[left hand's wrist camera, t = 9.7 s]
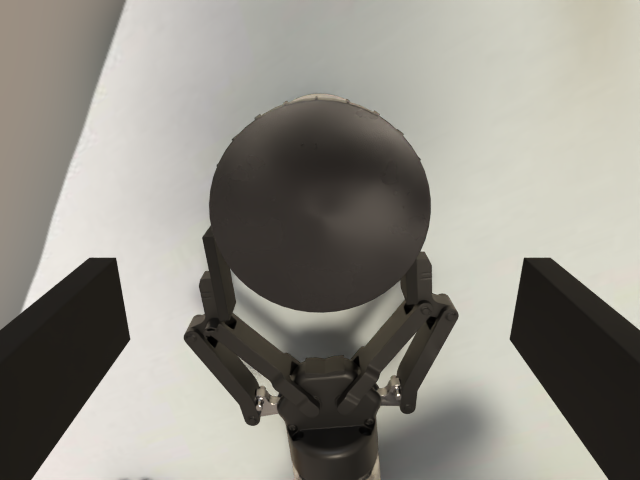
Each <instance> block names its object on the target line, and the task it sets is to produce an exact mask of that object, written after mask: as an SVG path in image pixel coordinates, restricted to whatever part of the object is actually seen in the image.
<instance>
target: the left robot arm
mask: <svg viewBox="0 0 640 480" xmlns="http://www.w3.org/2000/svg"><path fill="white" fill-rule="evenodd" d="M129 341H130V335H129V329H128V324H127V318H126V312H125V306H124V301H123V295H122V289H121V283H120V278H119V272H118V266H117V261H116V258H89V259H87V260H86V261H85V262H84V263H83V264H81V265H80V266H79V267H78V268H76V269H75V270H74V271H73V272H71V273H70V274H69V275H68V276H67V277H65V278H64V279H63V280H62V281H60V282H59V283H58V284H57V285H55V286H54V287H53V288H52V289H51V290H49V291H48V292H47V293H46V294H44V295H43V296H42V297H41V298H39V299H38V300H37V301H36V302H34V303H33V304H32V305H31V306H30V307H28V308H27V309H26V310H25V311H23V312H22V313H21V314H20V315H18V316H17V317H16V318H15V319H14V320H12V321H11V322H10V323H9V324H7V325H6V326H5V327H4V328H3V329H1V330H0V480H31V479H32V478H33V477H34V475H35V474H36V472H37V471H38V469H39V468H40V467H41V465H42V464H43V462H44V461H45V460H46V458H47V457H48V455H49V454H50V452H51V451H52V450H53V448H54V447H55V445H56V444H57V443H58V441H59V440H60V438H61V437H62V435H63V434H64V433H65V431H66V430H67V428H68V427H69V426H70V424H71V423H72V421H73V420H74V418H75V417H76V416H77V414H78V413H79V411H80V410H81V409H82V407H83V406H84V404H85V403H86V401H87V400H88V399H89V397H90V396H91V394H92V393H93V392H94V390H95V389H96V387H97V386H98V384H99V383H100V382H101V380H102V379H103V377H104V376H105V375H106V373H107V372H108V370H109V369H110V367H111V366H112V365H113V363H114V362H115V360H116V359H117V358H118V356H119V355H120V353H121V352H122V350H123V349H124V348H125V346H126V345H127V343H128V342H129ZM510 341H511V342H512V343H513V345H514V346H515V348H516V349H517V350H518V352H519V353H520V355H521V356H522V358H523V359H524V360H525V362H526V363H527V365H528V366H529V367H530V369H531V370H532V372H533V373H534V375H535V376H536V377H537V379H538V380H539V382H540V383H541V384H542V386H543V387H544V389H545V390H546V392H547V393H548V394H549V396H550V397H551V399H552V400H553V401H554V403H555V404H556V406H557V407H558V409H559V410H560V411H561V413H562V414H563V416H564V417H565V418H566V420H567V421H568V423H569V424H570V426H571V427H572V428H573V430H574V431H575V433H576V434H577V435H578V437H579V438H580V440H581V441H582V443H583V444H584V445H585V447H586V448H587V450H588V451H589V452H590V454H591V455H592V457H593V458H594V460H595V461H596V462H597V464H598V465H599V467H600V468H601V469H602V471H603V472H604V474H605V475H606V477H607V478H608V479H609V480H640V330H639V329H638V328H636V327H635V326H634V325H633V324H631V323H630V322H629V321H628V320H626V319H625V318H624V317H623V316H622V315H620V314H619V313H618V312H617V311H615V310H614V309H613V308H612V307H610V306H609V305H608V304H607V303H606V302H604V301H603V300H602V299H601V298H599V297H598V296H597V295H596V294H594V293H593V292H592V291H591V290H589V289H588V288H587V287H586V286H585V285H583V284H582V283H581V282H580V281H578V280H577V279H576V278H575V277H573V276H572V275H571V274H570V273H569V272H567V271H566V270H565V269H564V268H562V267H561V266H560V265H559V264H557V263H556V262H555V261H554V260H553V259H551V258H524V261H523V266H522V272H521V278H520V283H519V289H518V295H517V301H516V306H515V312H514V318H513V324H512V329H511V335H510Z"/></svg>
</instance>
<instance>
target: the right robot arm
mask: <svg viewBox="0 0 640 480" xmlns="http://www.w3.org/2000/svg"><path fill="white" fill-rule="evenodd" d="M202 238H203V243H204V248H205V253H206V258H207V263H208V268H209V271H205V272H204V274H203V276H202V278H201V279H200V284H199V288H200V293H201V297H202V302H203V307H204V311H205V314H204V315H196V316H194V317H193V319H192V321H191V323H190V325H189V327H188V329H187V331H186V333H185V335H184V340H185V342H186V343H187V344H188V345H189V347H190V348H191V349H192V350H193V351H194V352H195V354H196V355H197V356H198V357H199V358H200V359H201V361H202V362H203V363H204V364H205V365H206V366H207V368H208V369H209V370H210V371H211V372H212V373H213V375H214V376H215V377H216V378H217V379H218V380H219V382H220V383H221V384H222V385H223V386H224V387H225V389H226V390H227V391H228V392H229V393H230V394H231V395H232V397H233V398H234V399H235V400H236V401H237V402H238V404H239V405H240V408H241V411H242V414H243V416H244V419H245V422H246V423H247V424H248V425H251V426H255V425H257V424H258V423H259V422H260V417H261V416H266V415H272V414H278V413H279V415H280V416H281V417H282V418H283V419H284V421H285V423H286V428H287V434H288V440H289V446H290V453H291V459H292V463H293V472H294V478H295V480H381V478H380V464H379V455H378V436H377V422H376V414H377V411H378V409H379V408H380V406H400V410H401V411H402V412H403V413H404V414H410V413H412V412H413V411H414V410H415V407H416V398H417V391H418V389H419V387H420V385H421V383H422V382H423V380H424V378H425V376H426V374H427V373H428V371H429V369H430V367H431V366H432V364H433V362H434V360H435V358H436V357H437V355H438V353H439V351H440V349H441V348H442V346H443V344H444V342H445V341H446V339H447V337H448V335H449V333H450V332H451V330H452V328H453V326H454V325H455V323H456V321H457V319H458V312H457V310H456V309H455V307H454V305H453V303H452V302H451V300H450V298H449V297H448V295H446V294H439V295H436V294H433V293H432V265H431V263H430V261H429V259H428V257H427V255H426V254H425V252H420V253H419V255H418V256H417V258H416V260H415V261H414V263H413V265H412V266H411V267H410V269H409V270H408V271H407V272H406V274H405V275H404V276H403V277H402V278H401V289H402V292H403V295H404V297H405V300H404V301H403V303H402V304H401V305H400V306H399V307H398V308H397V310H396V311H395V312H394V313H393V314H392V316H391V317H390V318H389V319H388V320H387V321H386V323H385V324H384V325H383V326H382V327H381V328H380V330H379V331H378V332H377V333H376V334H375V335H374V337H373V338H372V339H371V340H370V341H369V343H368V344H367V345H366V346H365V347H361V348H360V349H359V350H358V351H357V352H356V354H355V355H354V356H353V357H352V358H351V360H350V359H347V358H344V355H338V356H332V357H329V358H326V359H323V358H315V357H314V358H306V361H305V362H302V363H300V362H298V361H297V360H296V359H295V358H293V357H292V356H291V355H290V354H288V353H282V352H281V351H280V350H279V349H277V348H276V347H275V346H274V345H272V344H271V343H270V342H269V341H267V340H266V339H265V338H263V337H262V336H261V335H260V334H258V333H257V332H256V331H255V330H253V329H252V328H251V327H250V326H248V325H247V324H246V323H245V322H243V321H242V320H241V319H240V318H238V317H237V316H236V315H235V314H233V313H232V312H233V310H234V307H235V304H236V299H235V293H234V288H233V283H232V277H231V272H230V268H229V266H228V264H227V263H226V261H225V260H224V258H223V257H222V255H221V253H220V251H219V249H218V246H217V244H216V241H215V238H214V235H213V232H212V227H211V226H210V227H209V229H208V230H207V232H206V233H205V235H204V236H203V237H202ZM416 332H417V333H416ZM415 333H416V335H415V336H414V338H413V340H412V342H411V344H410V346H409V348H408V350H407V352H406V353H405V355H404V357H403V359H402V361H401V363H400V365H399V368H398V371H397V376H395V375H393V376H391V380H390V381H389V382H388V385H387V386H386V387H384V388H379V387H378V385H377V384H376V382H377V381H378V379H379V376H380V373H381V371H382V370H383V369H384V368H385V367H386V366H387V364H388V363H389V362H390V361H391V360H392V359H393V358H394V357H395V355H396V354H397V353H398V352H399V351H400V350H401V349H402V348H403V346H404V345H405V344H406V343H407V342H408V341H409V340H410V339H411V337H412V336H413V335H414V334H415ZM239 357H240V358H241V359H242V360H244V361H245V362H246V363H248V364H249V365H250V366H251V367H253V368H254V369H255V370H257V371H258V372H259V373H261V374H262V375H263V376H264V377H266V378H267V379H268V380H270V381H271V383H272V386H273V387H274V389H275V390H276V391H278V392H279V395H278V396H271V395H270V394H269V393H268V392H267V390H266V387H265V386H260V387H259V384H258V382H257V380H256V378H255V377H254V376H253V374H252V373H251V372H250V371H249V369H248V368H247V367H246V366H245V365H244V363H243V362H242V361H241V360H240V358H239Z"/></svg>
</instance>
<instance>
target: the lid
mask: <svg viewBox="0 0 640 480" xmlns="http://www.w3.org/2000/svg"><path fill="white" fill-rule="evenodd" d="M379 115H380V114H379V113H377V112H376V111H374V112H373V111H371V110H368V109H366V108H364V107H362V106H360V105H358V104H354V103H351V102H350V101H349V100H348V99H346V101H345V100H339V99H334V98H318V96H315V98H307V99H300V100H296V101H292V102H288V101H285V102H284V103H283V105H280V106H278V107H275V108H273V109H272V110H270V111H268V112H266V113H264V114H263V115H260V114H259V115H258V116H257V117H255V121H253V122H252V123H251V124H249V125H248V126H247V127H245V128H244V129H243V130H242V131H241V132H240V133H239V134H238V135H236V136H235V137H234V138H233V139H232V143H231V144H230V145H229V146H228V148H227V149H226V151H225V152H224V154H223V156H222V158H221V160H220V161H219V163H218V164H217V169H216V171H215V174H214V177H213V181H212V185H211V190H210V200H209V212H210V222H211V227H212V232H213V235H214V238H215V241H216V244H217V246H218V249H219V251H220V253H221V255H222V257H223V258H224V260H225V261H226V263H227V264H228V266H229V268H230V269H231V270H232V271H233V272H234V274H235V275H236V276H237V277H238V278H239V279H240V280H241V281H242V282H243V283H244V284H245V285H246V286H247V287H249V288H250V289H251V290H253V291H254V292H256V293H257V294H258V295H260V296H262V297H264V298H265V299H267V300H269V301H271V302H273V303H276V304H278V305H281V306H283V307H287V308H290V309H294V310H299V311H306V312H322V313H323V312H335V311H341V310H346V309H350V308H353V307H356V306H359V305H362V304H364V303H367V302H369V301H371V300H373V299H375V298H377V297H378V296H380V295H381V294H383V293H385V292H386V291H387V290H389V289H390V288H391V287H392V286H394V285H395V284H396V283H397V282H398V281H399V280H400V279H401V278H402V277H403V276H404V275H405V274H406V272H407V271H408V270H409V269H410V267H411V266H412V265H413V263H414V261H415V260H416V258H417V256H418V255H419V253H420V251H421V248H422V246H423V244H424V241H425V239H426V235H427V231H428V228H429V221H430V214H431V198H430V191H429V184H428V181H427V177H426V174H425V171H424V168H423V166H422V164H421V162H420V160H421V159H420V158H419V157H418V156H417V154H416V153H415V151H414V149H413V148H412V146H411V145H410V144H409V142H408V141H407V140H406V139H405V138H404V137H403V135H404V134H403V133H402V132H401V131H399V130H398V129H397V130H396V129H395V128H394V127H393V126H392V125H391V124H390V123H388V122H387V121H386V120H384V119H383V118H381V117H380V116H379Z"/></svg>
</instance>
